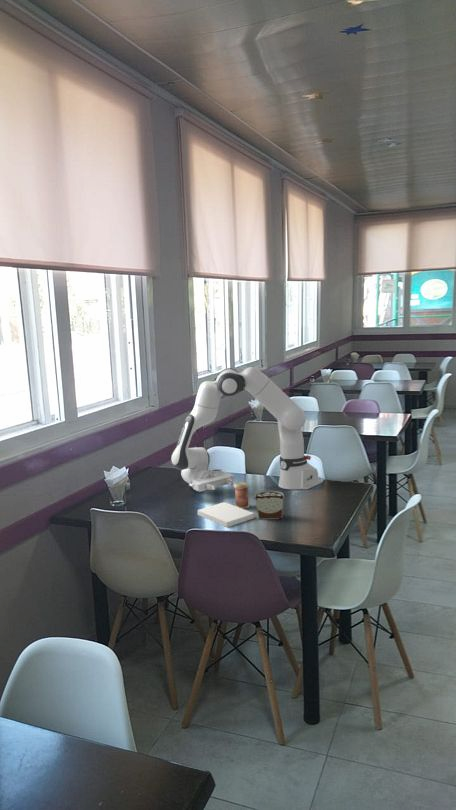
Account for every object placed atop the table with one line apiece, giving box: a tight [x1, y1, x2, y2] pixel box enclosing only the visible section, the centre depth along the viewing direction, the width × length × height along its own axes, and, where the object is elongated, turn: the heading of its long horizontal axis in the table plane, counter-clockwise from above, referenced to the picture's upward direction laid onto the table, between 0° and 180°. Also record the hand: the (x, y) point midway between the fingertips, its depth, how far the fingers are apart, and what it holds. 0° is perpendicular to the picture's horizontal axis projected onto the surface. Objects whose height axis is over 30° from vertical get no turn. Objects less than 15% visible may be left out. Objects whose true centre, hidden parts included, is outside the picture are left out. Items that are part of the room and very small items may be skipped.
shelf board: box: [197, 501, 255, 528], centre depth 232 cm, size 14×20×2 cm
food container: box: [253, 490, 286, 520], centre depth 229 cm, size 12×6×10 cm, turn 84°
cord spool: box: [233, 481, 250, 510], centre depth 242 cm, size 6×6×10 cm
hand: (223, 485), depth 251 cm, fingers open, 8 cm apart
